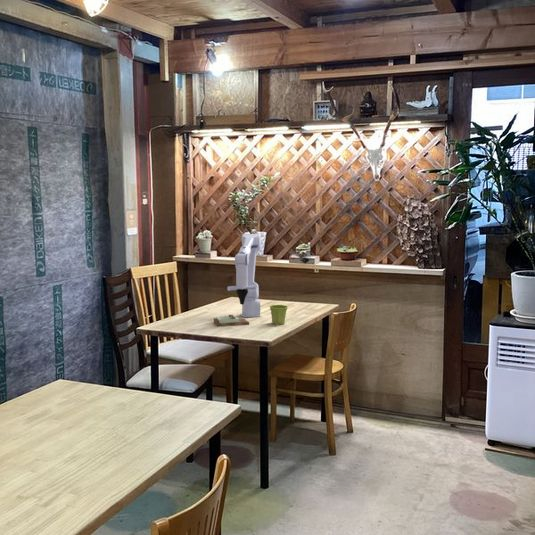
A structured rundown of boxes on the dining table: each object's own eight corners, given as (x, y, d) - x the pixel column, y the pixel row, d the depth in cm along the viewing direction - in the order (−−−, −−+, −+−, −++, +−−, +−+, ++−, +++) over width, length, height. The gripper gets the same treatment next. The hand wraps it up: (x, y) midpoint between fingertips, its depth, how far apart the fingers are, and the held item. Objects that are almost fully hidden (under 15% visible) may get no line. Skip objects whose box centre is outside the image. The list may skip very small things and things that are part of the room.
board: (244, 320, 314) (244, 313, 314) (249, 324, 306) (249, 316, 305) (213, 322, 310) (213, 315, 309) (217, 326, 301) (217, 318, 301)
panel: (234, 319, 312) (234, 315, 312) (239, 322, 305) (239, 318, 304) (215, 320, 309) (215, 316, 309) (219, 323, 302) (219, 319, 301)
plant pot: (290, 322, 311) (290, 305, 310) (283, 326, 303) (283, 308, 302) (273, 320, 315) (274, 304, 314) (266, 324, 307) (266, 307, 306)
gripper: (229, 278, 302) (229, 306, 303) (258, 277, 306) (258, 304, 308) (226, 277, 309) (226, 303, 310) (254, 276, 313) (253, 302, 315)
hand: (241, 304), depth 309 cm, fingers closed
